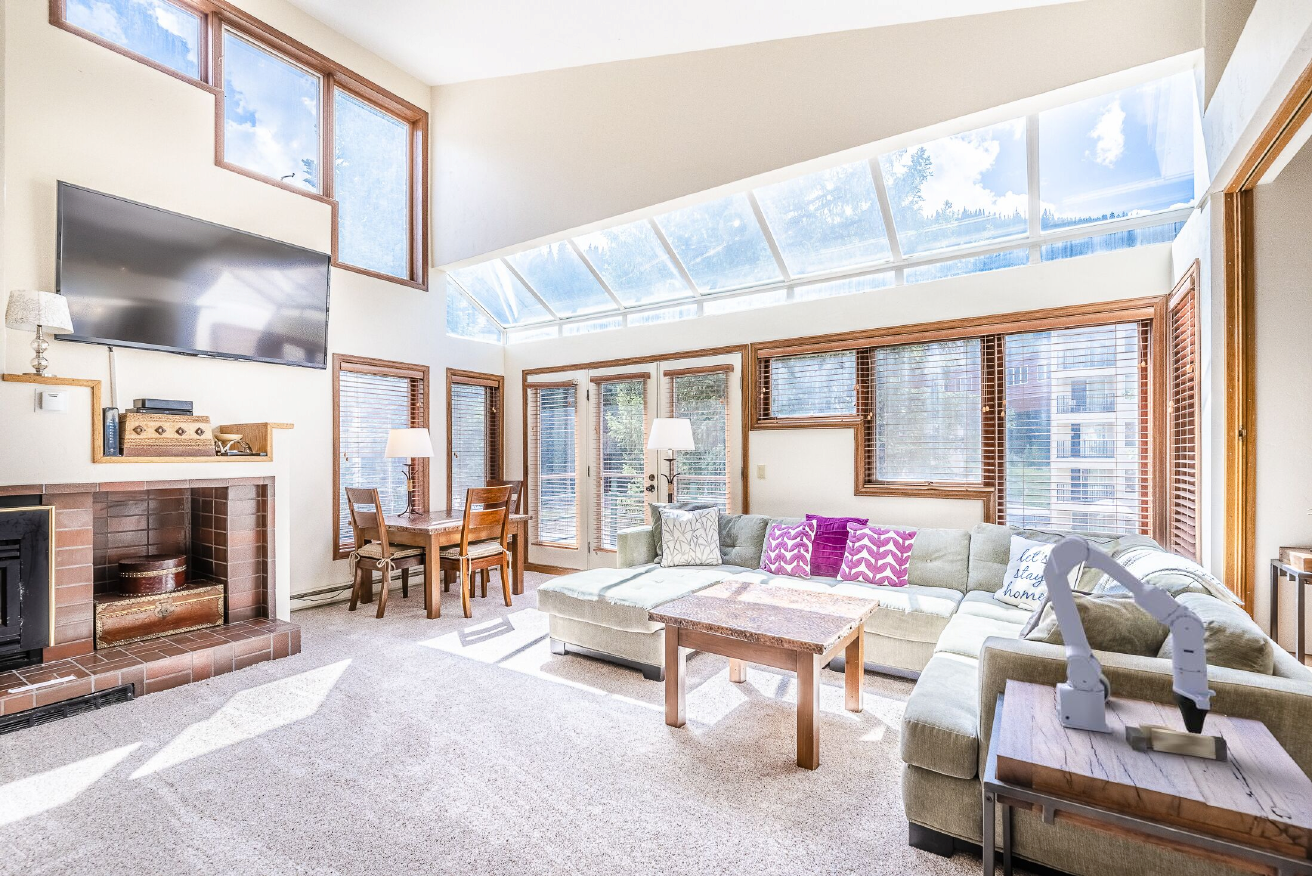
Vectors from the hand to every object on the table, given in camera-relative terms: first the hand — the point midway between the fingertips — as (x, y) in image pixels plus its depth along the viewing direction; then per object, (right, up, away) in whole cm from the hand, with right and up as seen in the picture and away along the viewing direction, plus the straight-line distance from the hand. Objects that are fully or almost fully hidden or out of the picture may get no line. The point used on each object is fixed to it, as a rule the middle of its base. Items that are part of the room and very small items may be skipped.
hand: (1193, 732), depth 132 cm
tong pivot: (-9, -3, -1) cm, 10 cm away
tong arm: (-5, -2, -4) cm, 7 cm away
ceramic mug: (-3, -5, +28) cm, 29 cm away
